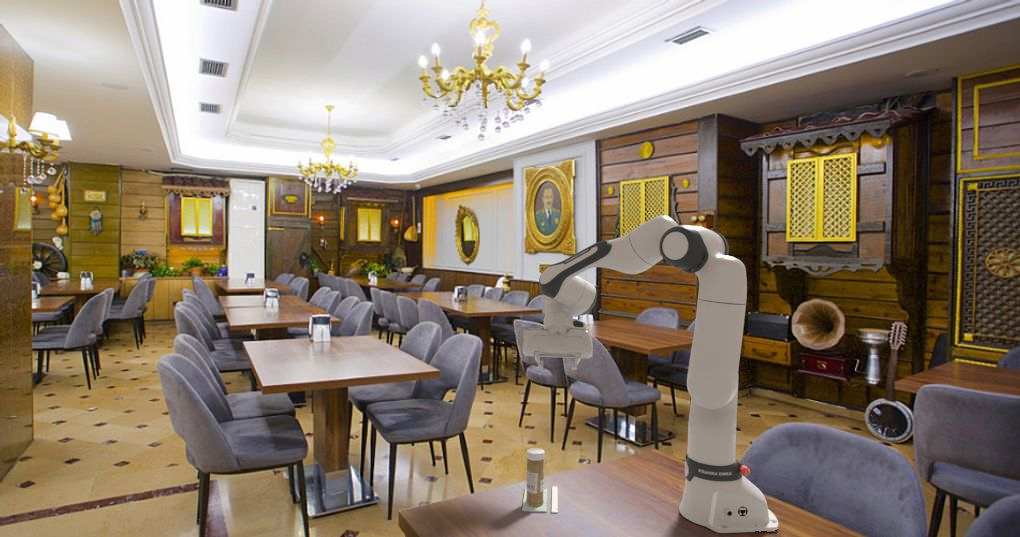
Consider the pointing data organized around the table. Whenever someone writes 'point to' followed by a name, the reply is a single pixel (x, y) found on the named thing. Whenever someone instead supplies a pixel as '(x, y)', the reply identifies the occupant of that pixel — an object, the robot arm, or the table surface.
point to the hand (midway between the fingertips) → (557, 368)
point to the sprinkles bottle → (535, 476)
